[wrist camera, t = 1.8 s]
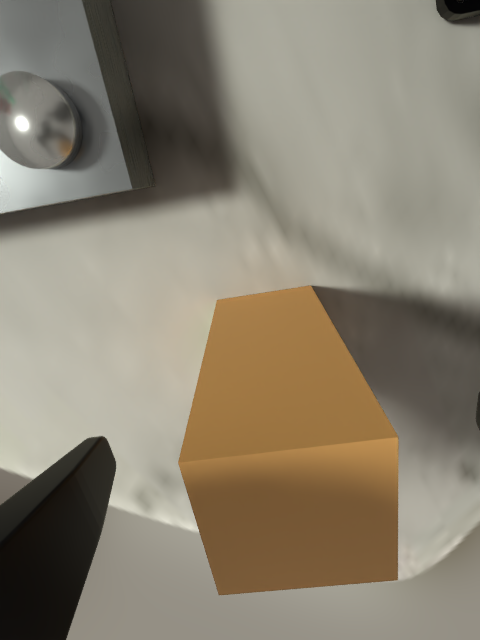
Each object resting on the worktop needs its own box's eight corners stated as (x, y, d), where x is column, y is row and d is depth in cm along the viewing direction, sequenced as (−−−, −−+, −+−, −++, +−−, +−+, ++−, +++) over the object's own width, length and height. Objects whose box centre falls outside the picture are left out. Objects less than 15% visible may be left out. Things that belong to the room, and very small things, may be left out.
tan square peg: (310, 285, 13) (398, 437, 5) (318, 367, 14) (397, 580, 7) (217, 299, 13) (177, 462, 6) (233, 379, 14) (219, 595, 7)
